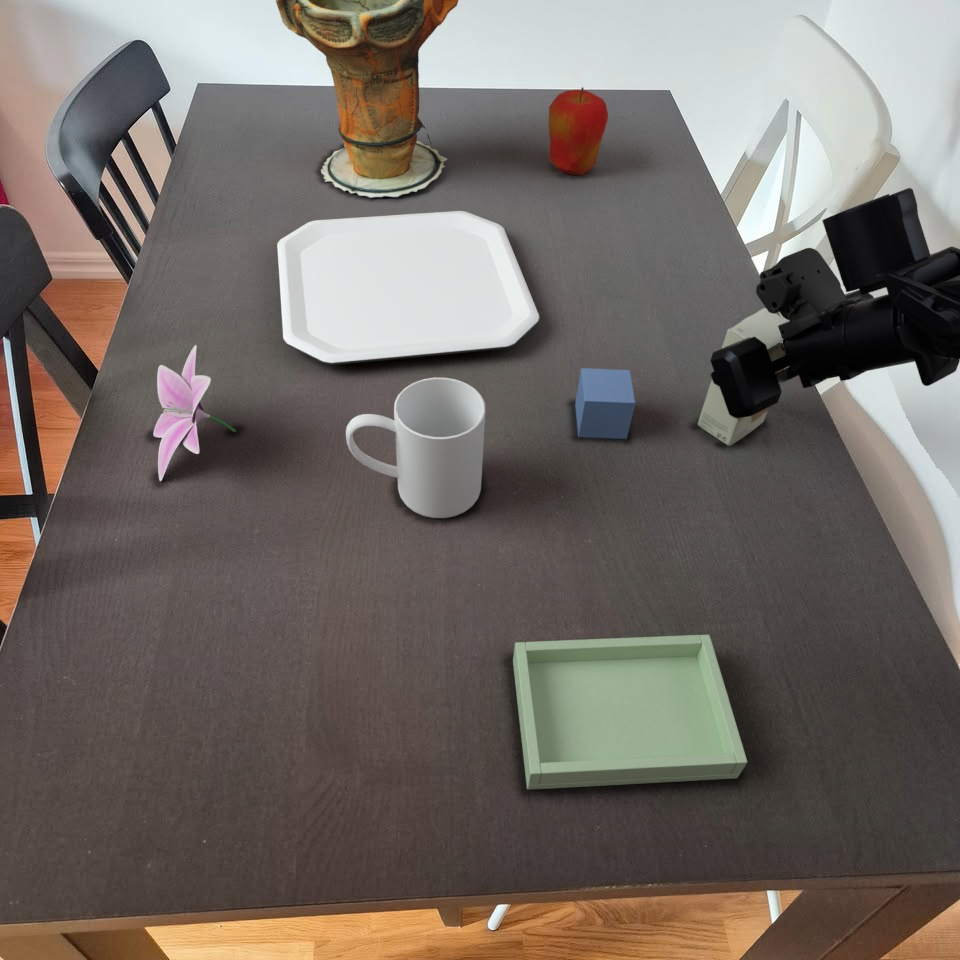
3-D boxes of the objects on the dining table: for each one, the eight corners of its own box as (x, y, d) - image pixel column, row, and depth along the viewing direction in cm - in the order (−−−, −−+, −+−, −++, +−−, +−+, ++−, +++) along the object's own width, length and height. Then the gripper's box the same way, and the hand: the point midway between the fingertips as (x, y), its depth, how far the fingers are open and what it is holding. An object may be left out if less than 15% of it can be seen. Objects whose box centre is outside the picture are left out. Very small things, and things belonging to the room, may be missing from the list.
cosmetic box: (728, 448, 84) (763, 352, 76) (695, 425, 87) (724, 330, 78) (766, 421, 87) (803, 326, 79) (732, 400, 90) (765, 305, 81)
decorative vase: (300, 136, 127) (273, -78, 107) (450, 135, 130) (452, -75, 109) (293, 206, 113) (261, -25, 93) (461, 203, 116) (467, -23, 95)
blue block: (622, 406, 88) (630, 369, 85) (626, 439, 85) (635, 402, 81) (575, 404, 88) (581, 367, 85) (578, 437, 85) (584, 400, 81)
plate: (287, 381, 89) (284, 365, 87) (277, 236, 108) (275, 221, 106) (548, 356, 94) (550, 340, 92) (495, 221, 113) (496, 206, 111)
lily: (181, 398, 88) (115, 352, 80) (276, 373, 84) (217, 322, 76) (168, 502, 83) (95, 464, 75) (268, 480, 79) (204, 438, 71)
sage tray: (701, 652, 68) (709, 634, 66) (737, 778, 61) (748, 762, 59) (512, 660, 67) (515, 641, 65) (527, 790, 60) (530, 774, 58)
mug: (474, 455, 83) (478, 373, 75) (486, 515, 77) (492, 434, 70) (350, 465, 81) (341, 383, 73) (355, 528, 76) (345, 446, 68)
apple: (535, 157, 126) (543, 76, 117) (587, 152, 127) (599, 72, 119) (554, 185, 120) (563, 102, 112) (608, 179, 122) (621, 98, 113)
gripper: (910, 213, 71) (776, 264, 86) (757, 274, 64) (639, 319, 78) (948, 335, 73) (810, 365, 87) (803, 409, 65) (678, 429, 80)
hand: (737, 367), depth 83 cm, fingers closed on cosmetic box, 6 cm apart
